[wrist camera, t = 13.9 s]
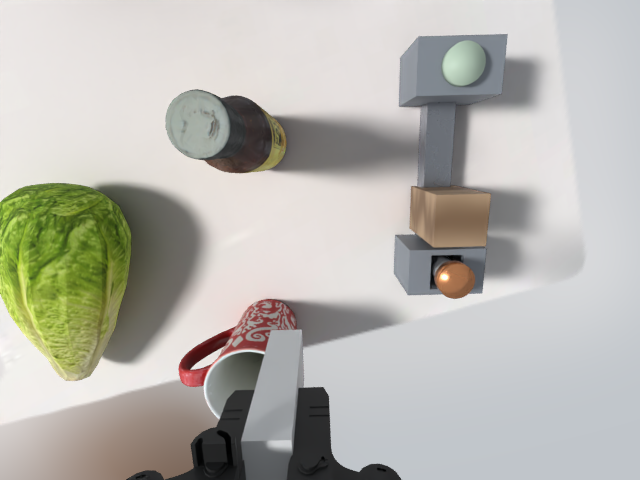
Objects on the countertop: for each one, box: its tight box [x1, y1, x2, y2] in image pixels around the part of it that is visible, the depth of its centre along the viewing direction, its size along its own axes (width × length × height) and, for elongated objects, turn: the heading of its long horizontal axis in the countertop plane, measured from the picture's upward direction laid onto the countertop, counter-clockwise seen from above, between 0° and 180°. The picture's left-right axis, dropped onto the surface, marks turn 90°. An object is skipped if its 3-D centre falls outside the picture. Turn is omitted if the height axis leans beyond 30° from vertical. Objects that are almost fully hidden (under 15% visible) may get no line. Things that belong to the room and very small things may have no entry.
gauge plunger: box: [431, 255, 475, 299], centre depth 37 cm, size 4×4×7 cm
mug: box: [179, 299, 297, 419], centre depth 39 cm, size 13×9×14 cm
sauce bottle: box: [166, 90, 287, 173], centre depth 30 cm, size 6×6×20 cm
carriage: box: [410, 185, 491, 247], centre depth 36 cm, size 5×5×9 cm
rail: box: [415, 102, 456, 239], centre depth 39 cm, size 15×3×2 cm, turn 1°
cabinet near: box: [399, 34, 508, 106], centre depth 34 cm, size 5×8×8 cm, turn 91°
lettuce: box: [0, 183, 131, 381], centre depth 39 cm, size 12×24×13 cm
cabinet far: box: [394, 235, 486, 295], centre depth 40 cm, size 5×8×7 cm, turn 91°
